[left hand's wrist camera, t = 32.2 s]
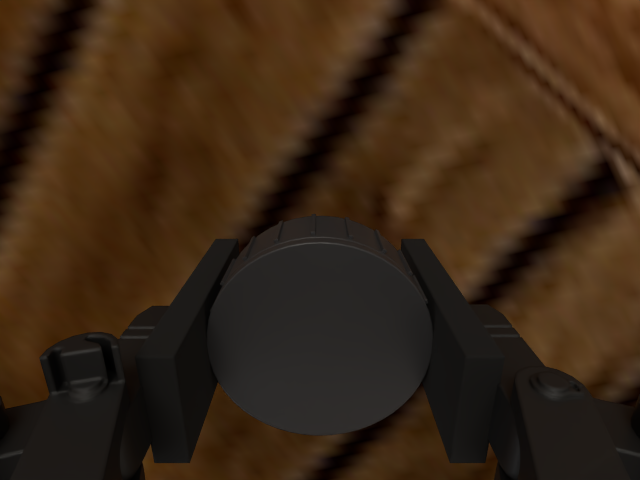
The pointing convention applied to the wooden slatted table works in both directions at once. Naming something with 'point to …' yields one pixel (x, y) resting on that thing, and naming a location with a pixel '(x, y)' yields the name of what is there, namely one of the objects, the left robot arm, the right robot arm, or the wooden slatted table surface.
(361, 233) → the lid
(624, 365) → the wooden slatted table surface
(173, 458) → the left robot arm
